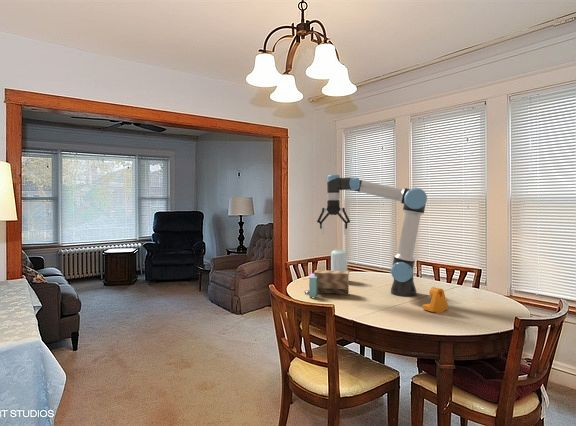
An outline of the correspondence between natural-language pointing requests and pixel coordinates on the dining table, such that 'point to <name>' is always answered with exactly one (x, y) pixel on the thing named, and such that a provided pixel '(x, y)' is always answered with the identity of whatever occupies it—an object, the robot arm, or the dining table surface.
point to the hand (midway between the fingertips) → (333, 234)
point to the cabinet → (332, 281)
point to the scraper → (312, 286)
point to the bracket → (436, 301)
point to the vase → (339, 260)
